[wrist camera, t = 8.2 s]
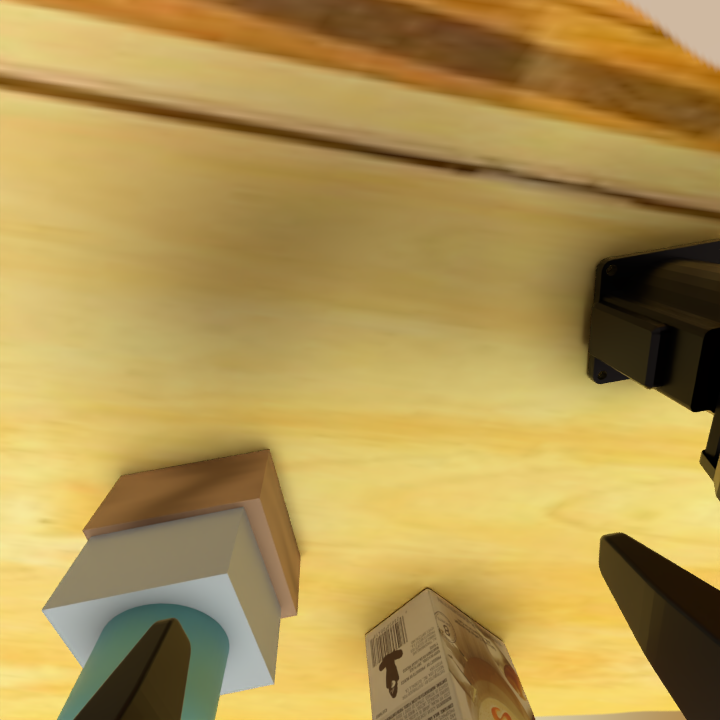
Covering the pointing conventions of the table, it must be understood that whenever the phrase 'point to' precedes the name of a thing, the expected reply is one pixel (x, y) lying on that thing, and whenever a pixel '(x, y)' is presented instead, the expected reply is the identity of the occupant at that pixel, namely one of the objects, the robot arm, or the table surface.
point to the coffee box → (440, 667)
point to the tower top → (177, 588)
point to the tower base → (212, 509)
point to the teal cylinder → (125, 634)
